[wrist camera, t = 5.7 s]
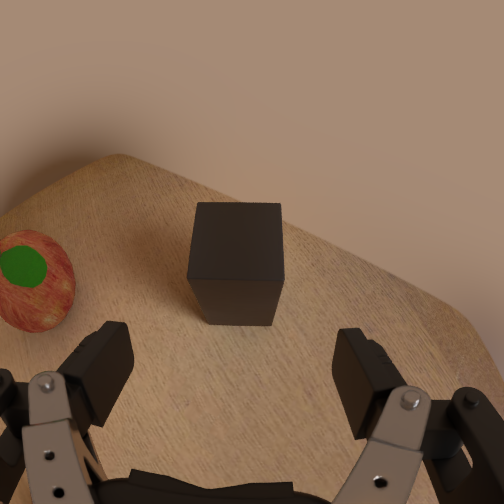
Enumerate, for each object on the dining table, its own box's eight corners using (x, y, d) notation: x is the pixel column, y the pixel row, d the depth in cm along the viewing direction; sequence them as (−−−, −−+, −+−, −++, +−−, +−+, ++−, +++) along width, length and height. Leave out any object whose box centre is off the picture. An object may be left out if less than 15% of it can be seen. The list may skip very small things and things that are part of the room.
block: (270, 269, 25) (281, 202, 17) (271, 326, 22) (285, 280, 14) (212, 268, 25) (197, 201, 17) (208, 324, 22) (186, 278, 14)
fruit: (41, 255, 25) (-11, 199, 16) (107, 269, 24) (53, 203, 16) (15, 327, 21) (-52, 287, 12) (80, 357, 20) (3, 322, 12)
